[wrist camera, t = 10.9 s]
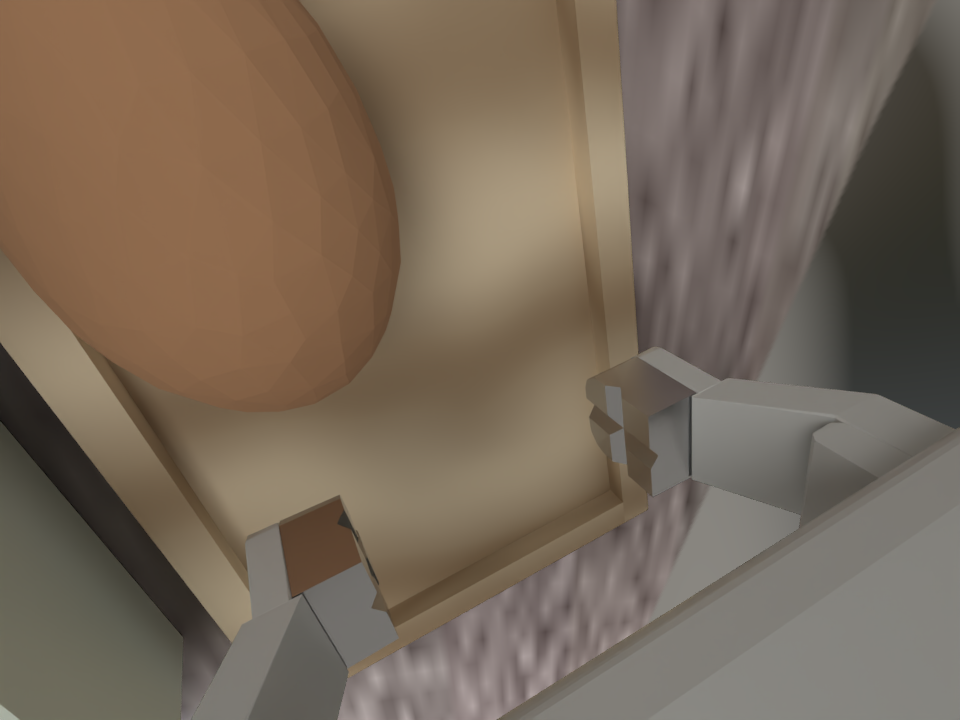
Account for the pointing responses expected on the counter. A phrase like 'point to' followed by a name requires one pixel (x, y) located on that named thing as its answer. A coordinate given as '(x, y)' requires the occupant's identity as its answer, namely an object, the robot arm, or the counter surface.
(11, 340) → the tray
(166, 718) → the bin
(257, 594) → the robot arm
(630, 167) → the counter surface
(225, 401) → the egg
